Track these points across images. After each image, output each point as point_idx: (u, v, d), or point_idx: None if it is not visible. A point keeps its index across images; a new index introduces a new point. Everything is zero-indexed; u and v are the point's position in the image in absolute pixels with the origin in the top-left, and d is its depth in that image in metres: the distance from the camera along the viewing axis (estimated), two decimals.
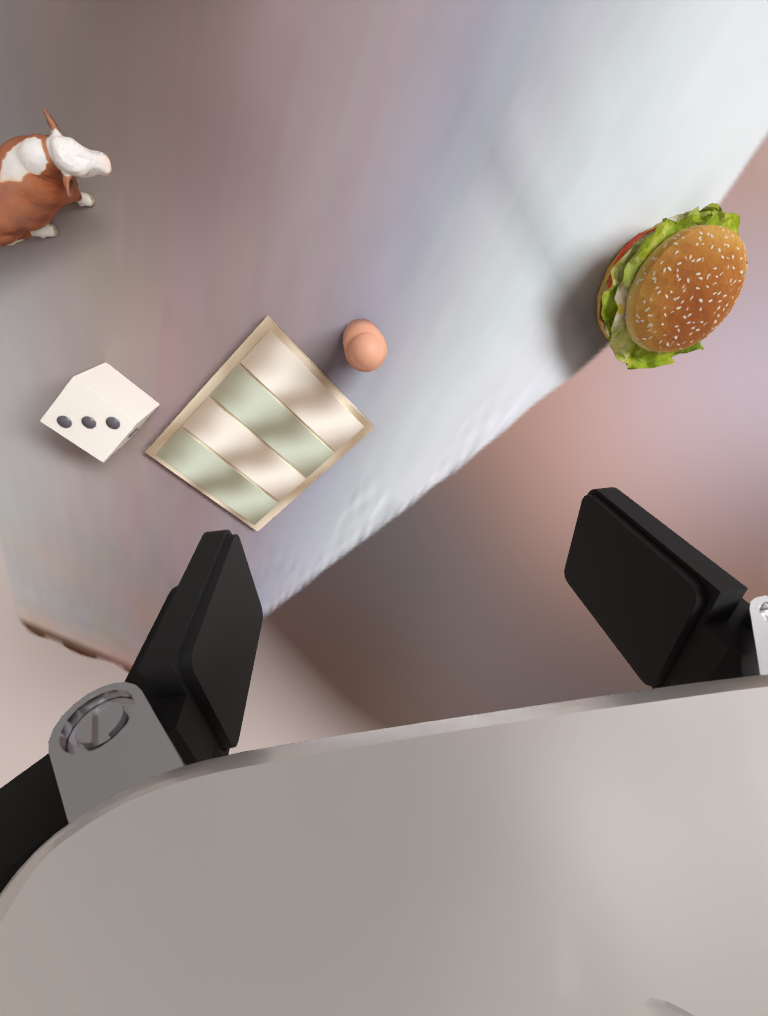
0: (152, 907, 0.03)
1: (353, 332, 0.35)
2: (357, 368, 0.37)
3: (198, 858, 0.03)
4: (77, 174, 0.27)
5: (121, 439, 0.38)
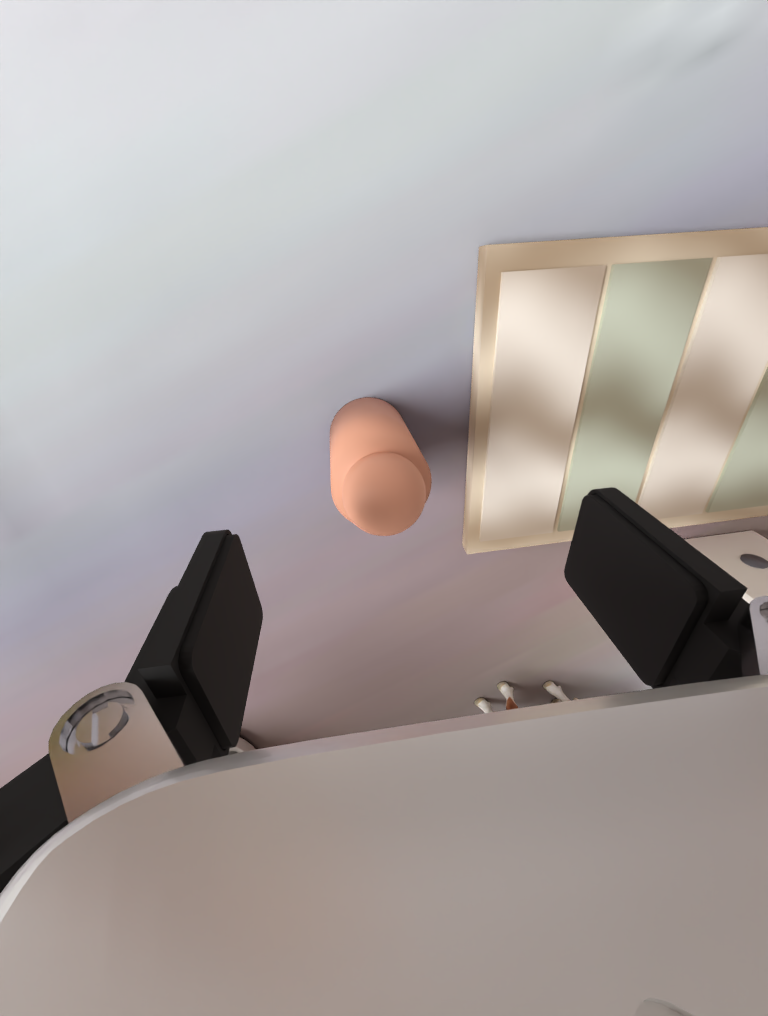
0: (152, 907, 0.03)
1: None
2: (424, 465, 0.15)
3: (198, 858, 0.03)
4: None
5: None
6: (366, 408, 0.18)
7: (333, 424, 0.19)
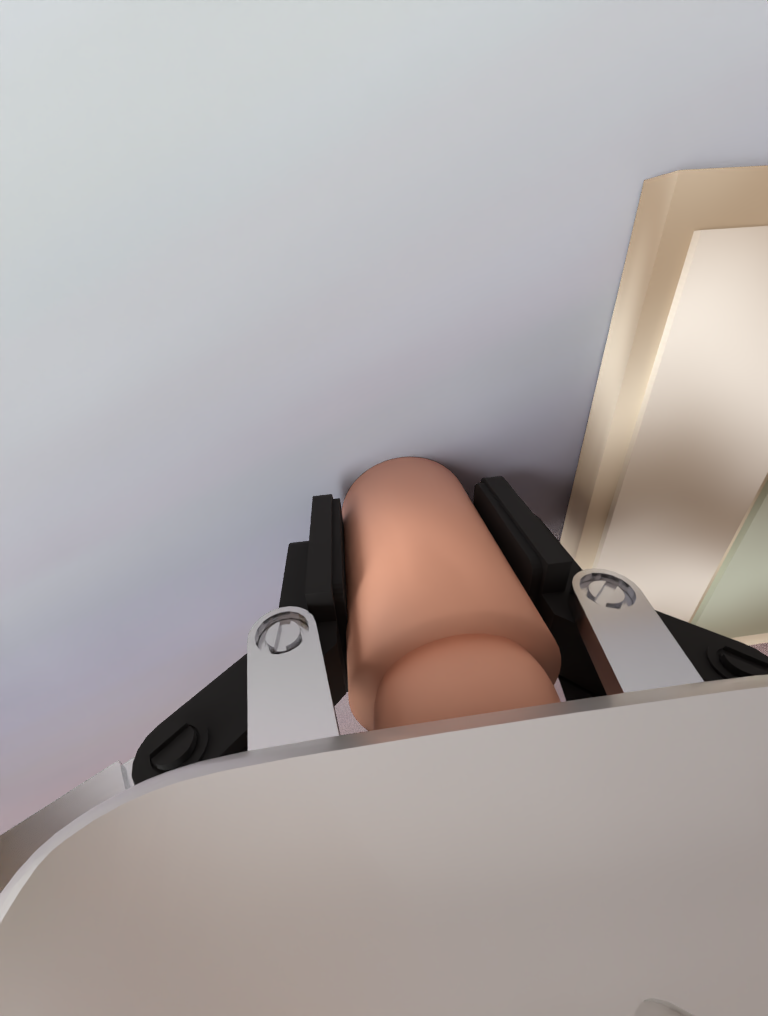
0: (152, 908, 0.03)
1: None
2: (551, 650, 0.07)
3: (198, 859, 0.03)
4: None
5: None
6: (411, 489, 0.10)
7: (348, 506, 0.11)
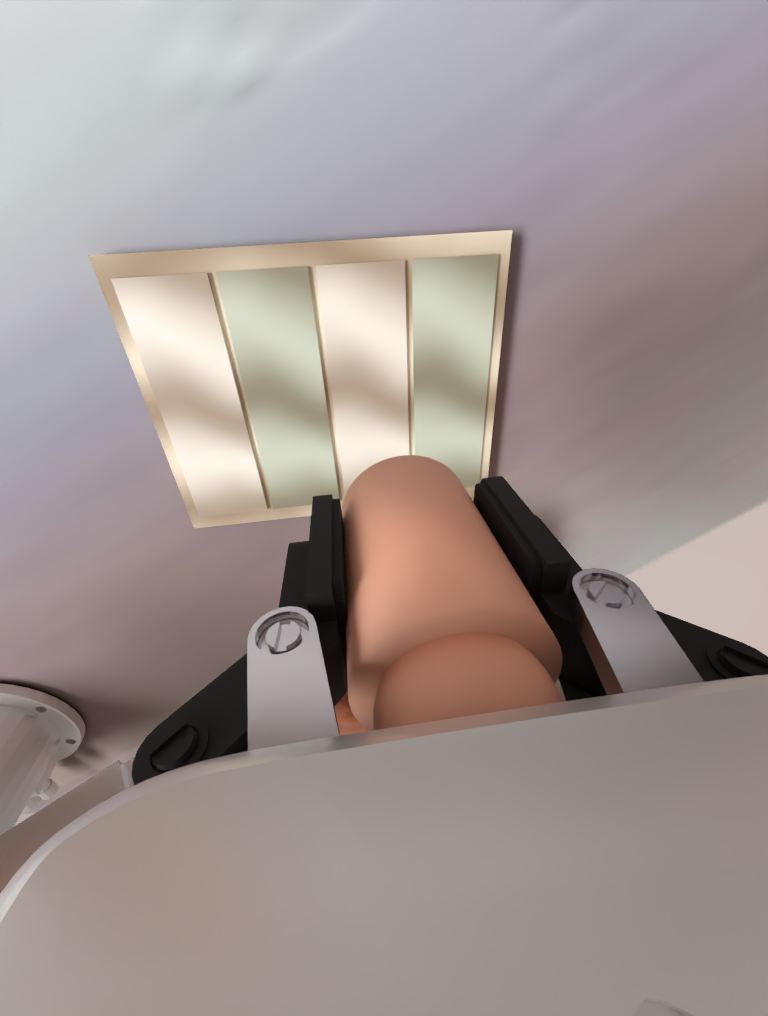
0: (152, 907, 0.03)
1: None
2: (552, 648, 0.07)
3: (198, 858, 0.03)
4: None
5: None
6: (411, 487, 0.09)
7: (348, 505, 0.11)
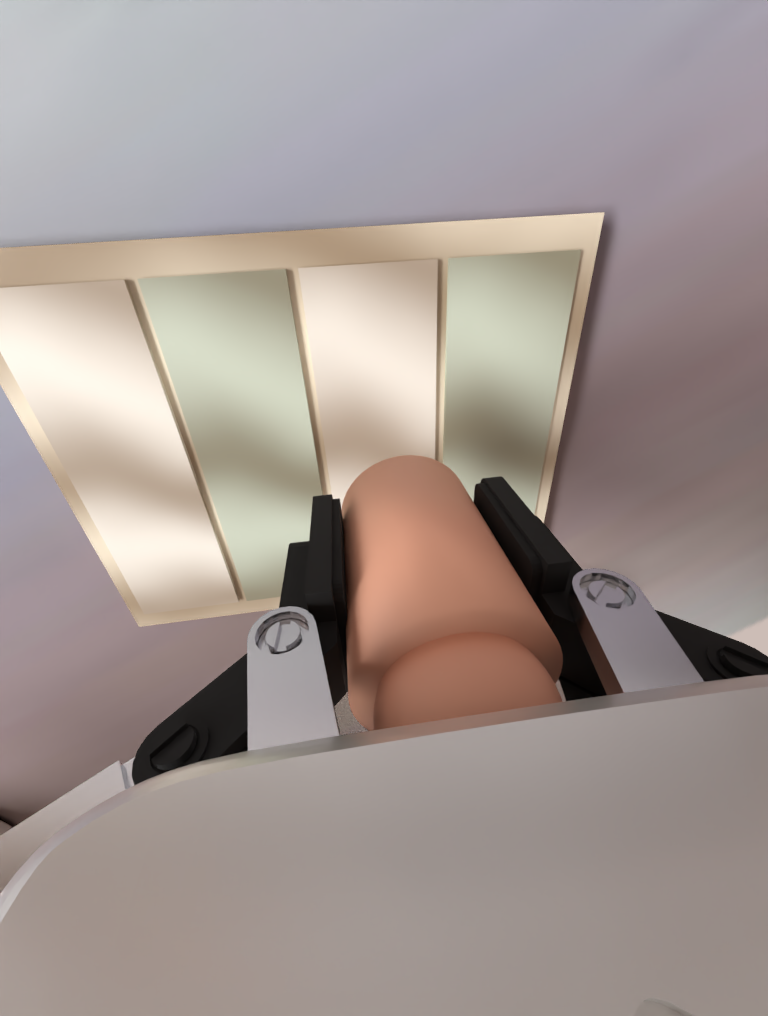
0: (152, 907, 0.03)
1: None
2: (552, 649, 0.07)
3: (198, 858, 0.03)
4: None
5: None
6: (411, 487, 0.09)
7: (348, 505, 0.11)
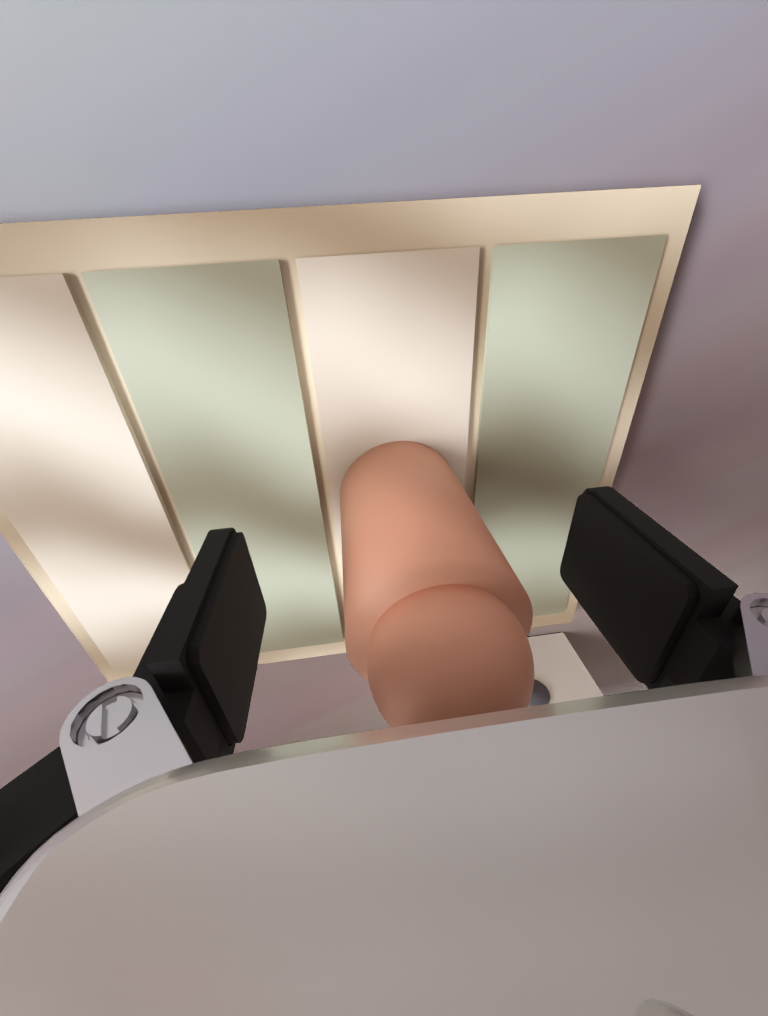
0: (152, 908, 0.03)
1: None
2: (523, 601, 0.08)
3: (198, 859, 0.03)
4: None
5: None
6: (403, 468, 0.10)
7: (346, 486, 0.12)
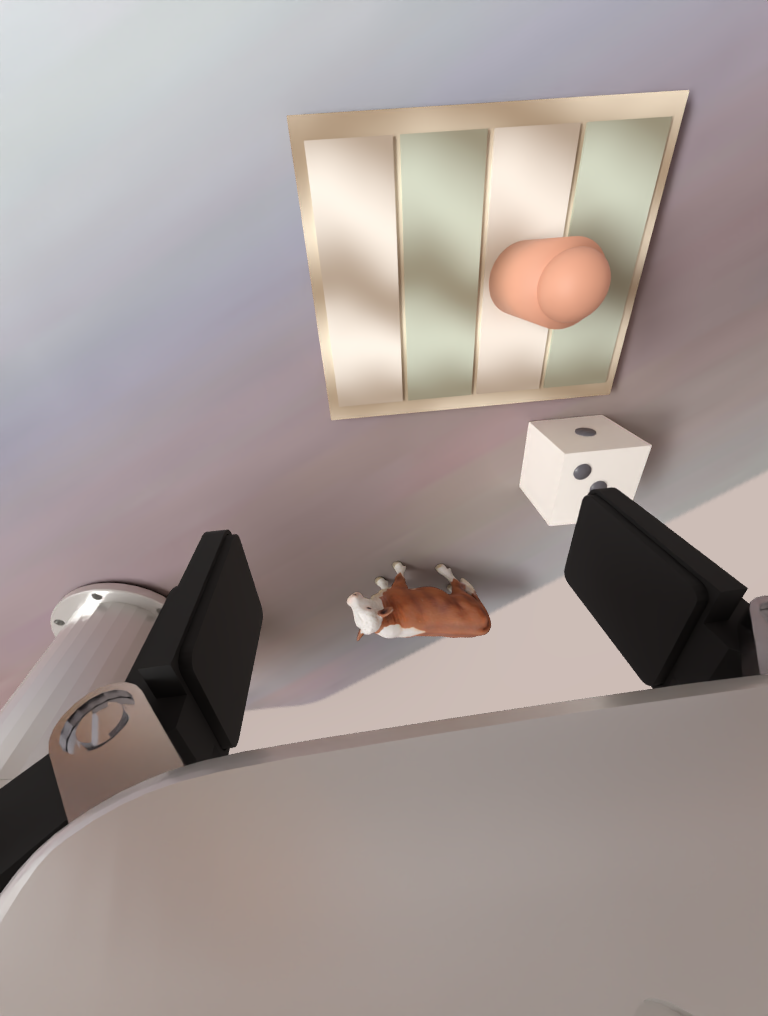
0: (152, 908, 0.03)
1: (555, 327, 0.20)
2: None
3: (198, 858, 0.03)
4: (373, 613, 0.31)
5: (601, 451, 0.26)
6: (537, 239, 0.21)
7: (500, 261, 0.23)
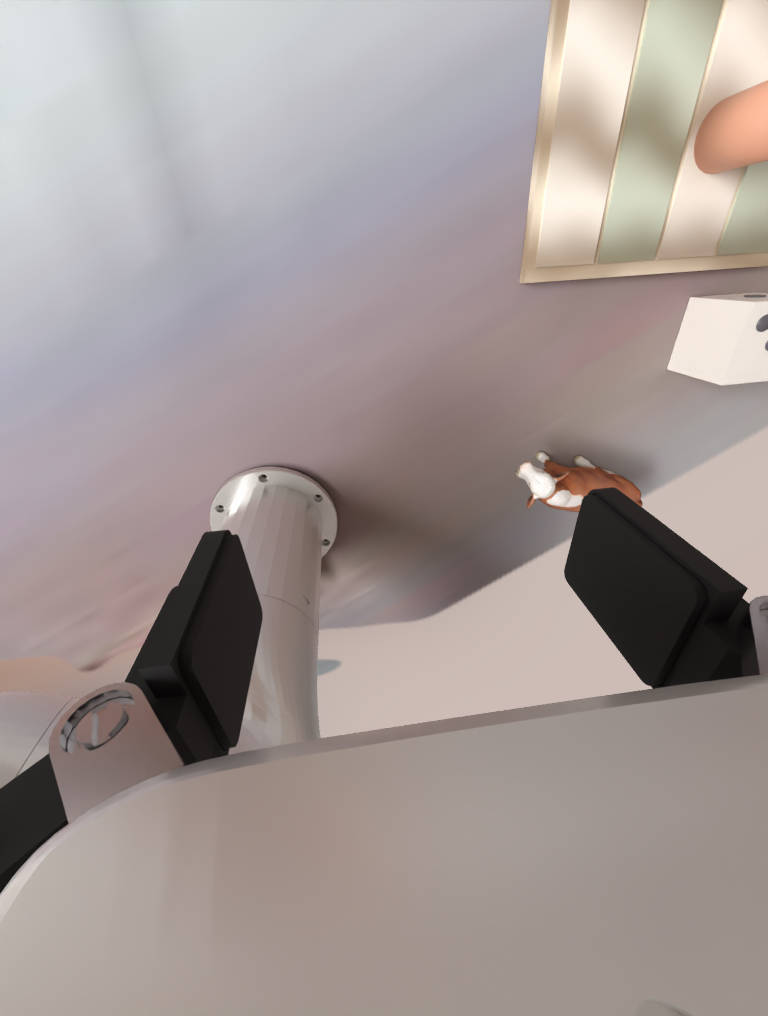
0: (152, 907, 0.03)
1: None
2: None
3: (198, 858, 0.03)
4: (550, 476, 0.33)
5: None
6: None
7: (716, 111, 0.25)
